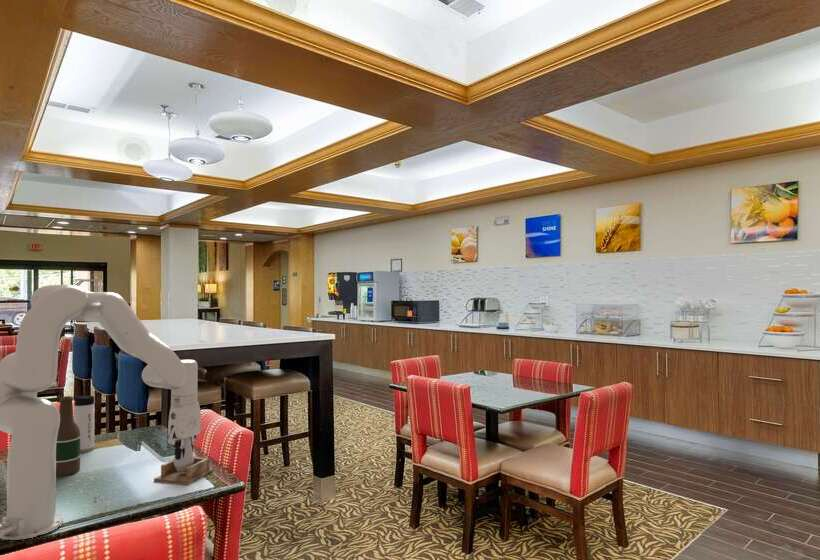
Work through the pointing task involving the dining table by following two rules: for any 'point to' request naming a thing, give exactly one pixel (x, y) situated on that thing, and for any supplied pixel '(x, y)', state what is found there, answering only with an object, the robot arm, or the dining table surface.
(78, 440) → the beer bottle
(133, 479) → the dining table surface
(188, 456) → the salt shaker
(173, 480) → the walnut U-rest
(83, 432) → the travel mug
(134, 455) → the dining table surface
